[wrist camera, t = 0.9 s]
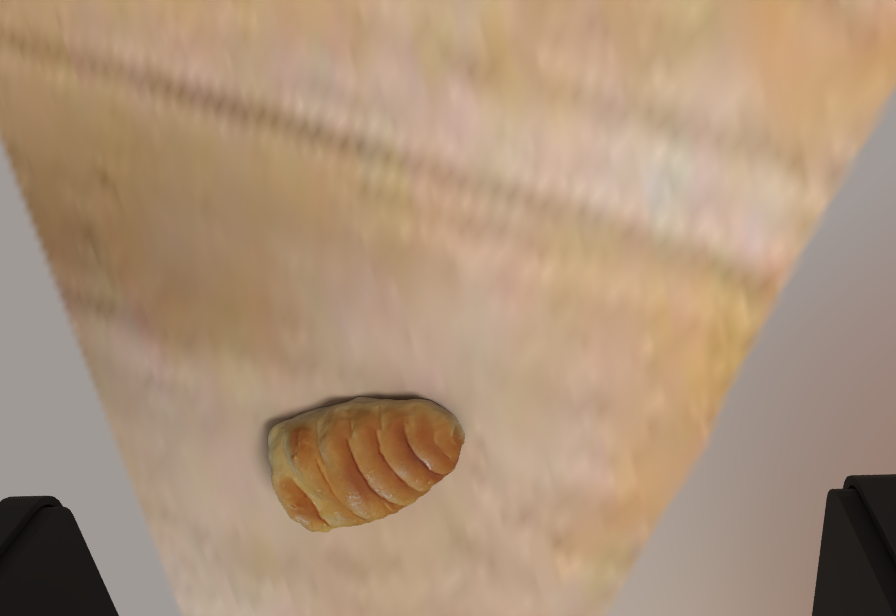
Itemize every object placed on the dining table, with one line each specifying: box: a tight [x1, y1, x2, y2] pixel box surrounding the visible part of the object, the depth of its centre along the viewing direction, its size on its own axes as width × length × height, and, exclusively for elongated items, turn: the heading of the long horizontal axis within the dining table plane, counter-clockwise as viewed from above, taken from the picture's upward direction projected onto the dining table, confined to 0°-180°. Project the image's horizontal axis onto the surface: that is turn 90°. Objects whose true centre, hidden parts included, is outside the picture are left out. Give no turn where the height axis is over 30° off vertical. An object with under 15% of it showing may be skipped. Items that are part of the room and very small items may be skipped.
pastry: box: [268, 397, 465, 532], centre depth 39 cm, size 9×7×4 cm
